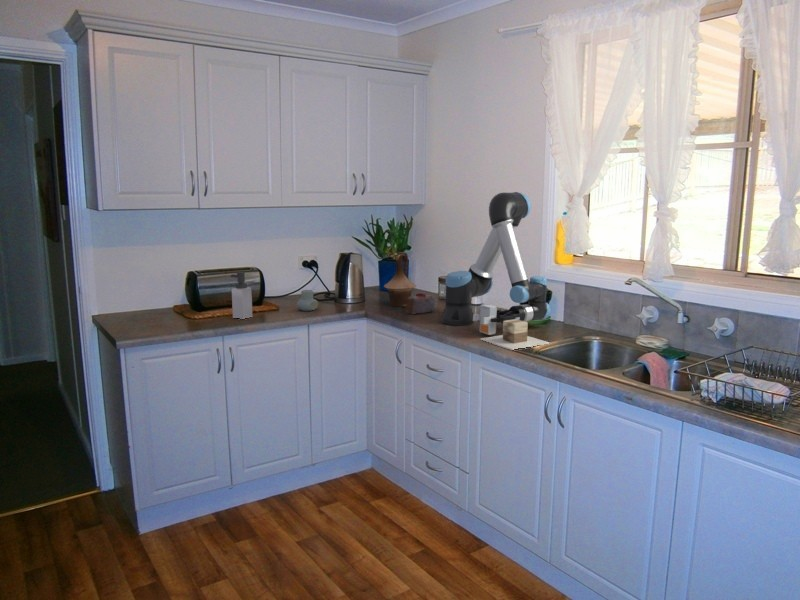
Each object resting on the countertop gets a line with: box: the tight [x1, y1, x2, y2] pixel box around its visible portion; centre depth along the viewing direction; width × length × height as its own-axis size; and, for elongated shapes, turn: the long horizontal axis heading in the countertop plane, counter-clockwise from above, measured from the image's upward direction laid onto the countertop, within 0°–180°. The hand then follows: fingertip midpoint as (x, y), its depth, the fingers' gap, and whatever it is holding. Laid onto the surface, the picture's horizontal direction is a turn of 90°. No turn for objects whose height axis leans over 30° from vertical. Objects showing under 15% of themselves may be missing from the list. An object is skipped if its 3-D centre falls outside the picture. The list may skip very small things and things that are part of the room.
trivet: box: [480, 334, 550, 351], centre depth 262 cm, size 20×20×1 cm
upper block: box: [502, 319, 529, 334], centre depth 261 cm, size 7×7×4 cm
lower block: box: [502, 330, 528, 343], centre depth 262 cm, size 7×7×4 cm
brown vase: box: [383, 251, 417, 307], centre depth 337 cm, size 18×17×28 cm
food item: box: [406, 292, 436, 315], centre depth 320 cm, size 14×8×10 cm, turn 128°
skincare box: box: [479, 303, 498, 336], centre depth 271 cm, size 6×4×12 cm
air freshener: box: [296, 289, 319, 312], centre depth 325 cm, size 11×8×10 cm
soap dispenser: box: [230, 271, 253, 320], centre depth 305 cm, size 6×9×22 cm
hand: (478, 319), depth 268 cm, fingers closed on skincare box, 6 cm apart
